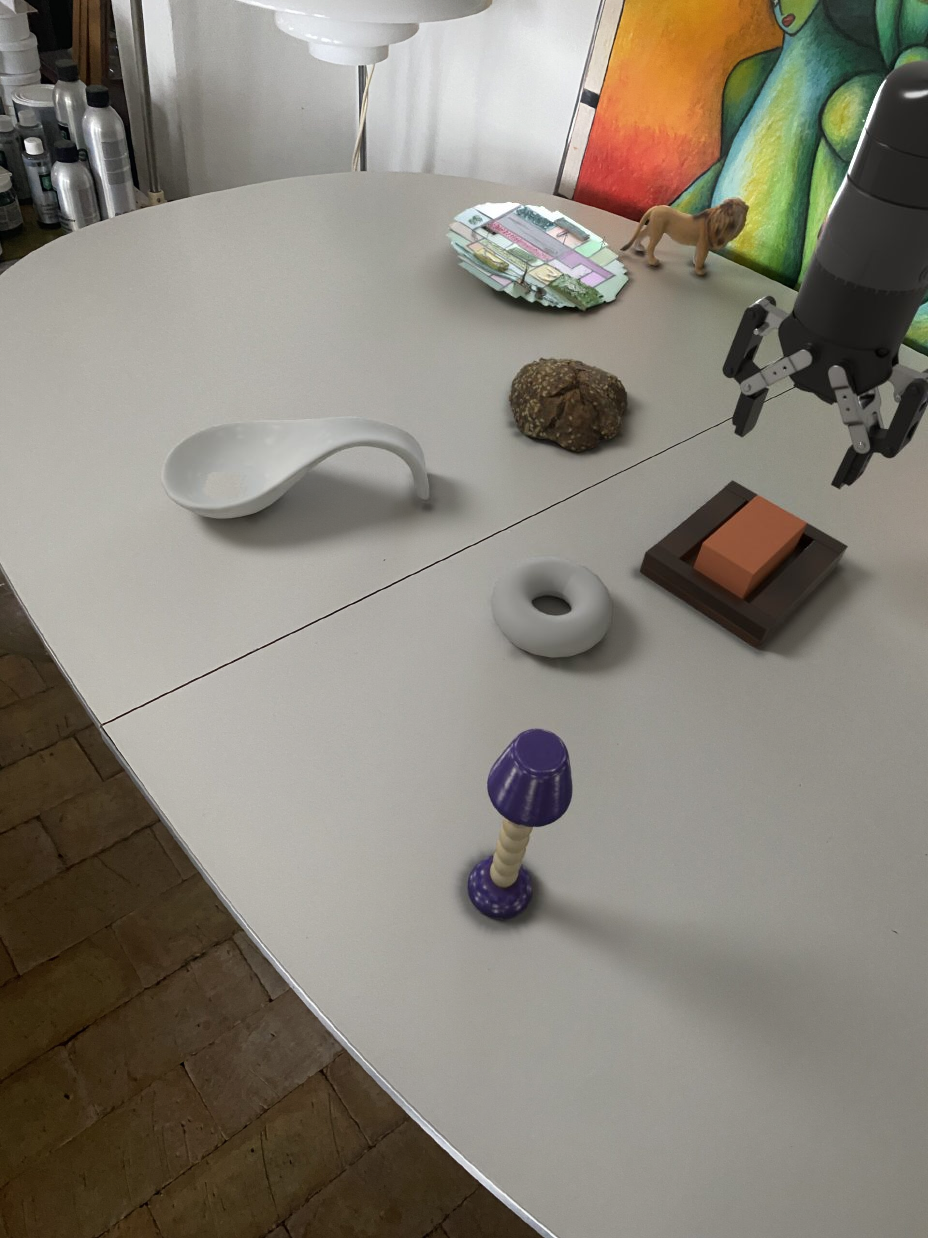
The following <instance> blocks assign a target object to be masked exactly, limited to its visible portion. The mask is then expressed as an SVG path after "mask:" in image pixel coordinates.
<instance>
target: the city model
mask: <svg viewBox="0 0 928 1238" xmlns="http://www.w3.org/2000/svg"><path fill="white" fill-rule="evenodd" d="M452 220H453V221H454V222H451V223H450V224H449V226H450V227H448V228H446V230H447V231H448V233H447V234H445V235H444V237H447V238H448V239H450V240H451V243H450V245H451V246H452V248H453V249H454V250H456V252H455V253H458V254H459V255H457V256H456V258H458V259H459V260H461V261H462V262H459V263H457V265H459V266H460V267H461V268H463V269H464V270H465V271H467V272H469V273H470V274H471V275H473V276H475V277H476V278H477V279H479V280H480V281H482V282H484V283H485V284H486V285H488V286H490V287H491V288H492V289H493V290H495V291H496V292H503V291H504V292H506V294H508V295H510V296H512V297H513V298H514V299H516V298H519V297H520V296H521V297H522V298H523V299H525V300H526V301H528V302H530V303H534V302H535V301H536V302H539V303H540V304H541V305H543V306H545V307H547V306H551V307H554V306H556V307H557V308H563V307H564V306H566V307H568V308H569V307H572V308H574V307H577V308H578V310H580V311H583V312H586V309H588V308H591V307H593V306H597V305H600V304H603V303H604V301H605V303H609V302H612V301H614V300H616V299H617V298H616V295H617V294H618V293H619V292H620V290H622V288H623V287H624V285H625V284H626V283H627V281H629V279H630V278H629V277H628V276H627V275H625V273H627V272H628V270H627V269H625V268H624V267H625V265H624V263H622V262H620V261H619V260H618V257H620V255H619V254H617V253H615V252H614V251H612V250H611V249H609V248H608V247H609V243H607V242H605V241H606V236H603V238H602V237H600V236H599V235H598V234H596V233H594V232H592V231H591V230H589V229H587V228H586V227H584V226H582V225H581V224H579V223H578V222H576V221H574V220H573V219H571V218H570V217H568V216H566V215H565V214H563V213H562V212H560V211H559V210H555V211H550V210H549V209H548V208H546V207H544V206H542V205H541V206H538V205H530V204H526V205H523V204H521V203H519V202H514V203H512V202H510V201H506V202H505V203H501V202H498V203H491V202H489V201H487V202H486V203H483V204H482V203H479V204H477V205H476V206H472V207H471V208H470V207H468V208H466V209H465V210H464V211H462V212H461V213H459V214H458V215H456V216H454V217H453V218H452Z"/></svg>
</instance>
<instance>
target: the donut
mask: <svg viewBox="0 0 928 1238" xmlns="http://www.w3.org/2000/svg"><path fill="white" fill-rule="evenodd" d="M494 583H495V584H494V586H493V590H492V594H491V598H490V607H491V612H492V618H493V621H494V622H495V624H496V626H497V627H498V629H499V630H500V632H501V633H502V635H503V636H504V637H505V638H506V639H507V640H508V641H510V642H511V643H512V644H513V645H514V646H516V647H517V648H519V649H520V650H521V649H522V650H523V651H526V652H528V653H530V654H532V655H535V656H541V657H547V658H551V659H552V658H568V657H574V656H575V655H579V654H582V653H584V652H586V651H589V650H590V649H592V648H593V647H594V646H595V645H596V644H598V643H600V641H602V640H603V638H604V636H605V635H606V633H607V631H608V630H609V628H610V627H611V625H612V619H613V610H614V604H613V602H612V598H611V595H610V594H611V593H610V592H609V589H608V587H607V586H606V584H605V583H604V582H603V580H602V579H601V578H600V576H599V575H598V574H596V573H595V572H594V571H592V570H591V569H589V568H588V567H587V566H586V565H583V564H581V563H579V562H576V561H574V560H572V559H570V558H564V557H560V556H554V555H548V556H533V557H530V558H527V559H523V560H520V561H517V562H516V563H515V564H512V565H511V566H510V567H508V568H507V569H506V570H504V571H503V573H502V574H501V575H500V577H499V578H498V579H497V581H496V582H494ZM543 596H544V597H545V596H550V597H557V598H559V599H562V600H563V601H564V602H566V603H567V604H569V606H570V608H571V610H570V611H569V612H568V613H564V614H561V615H560V614H559V615H552V614H547V613H544V612H542V611H540V610H538V609H537V608H536V607H535V606H534V605H533V600H535V599H536V598H539V597H543Z"/></svg>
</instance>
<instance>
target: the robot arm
mask: <svg viewBox="0 0 928 1238" xmlns="http://www.w3.org/2000/svg"><path fill="white" fill-rule="evenodd" d="M916 1H917V2H919V3H921V4H924V5H926V6H928V0H916ZM849 163H850V164H849V166H848V169H847V171H846V173H845V176H844V178H843V180H842V183H840V186H839V188H838V190H837V192H836V193H835V195H834V197H833V200H832V202H831V204H830V206H829V208H828V211H827V214H826V216H825V218H824V221H822V223H821V225H820V227H819V230H818V232H817V236H816V243H815V246H814V248H813V251H812V254H811V256H810V260H809V262H808V265H807V268H806V270H805V273H804V276H803V278H802V281H801V284H800V287H799V289H798V292H797V295H796V297H795V300H794V303H793V308H792V310H791V312H790V313H788V312H786V311H785V310H783V309H781V308H780V307H777V300H776V298H774V296H772V295H769V294H768V295H765V296H763V297H761V298H760V299H758V300H757V301H755V302H754V303H752V304H751V305H750V306H748V307H746V308H745V310H744V312H743V314H742V317H741V319H740V322H739V324H738V327H737V330H736V331H735V335H734V336H733V340H732V342H731V345H730V347H729V350H728V352H727V355H726V358H725V360H724V363H723V365H722V374H723V375H724V377H726V378H728V379H734V380H735V382H736V383H738V385H739V390H740V394H739V397H738V400H737V403H736V404H735V408H734V411H733V414H732V416H731V417H732V418H731V424H732V425H733V426H735V429H734V430H733V431H734V432H733V434H735V435H736V436H739V437H740V438H744V437H746V436H747V435H748V434H749V433H750V432H752V431H753V430H754V429H755V427H756V425H757V423H758V420H759V417H760V415H761V412H762V409H763V406H764V404H765V401H766V399H767V397H768V393H769V390H770V388H768V387H770V386H772V385H774V384H776V383H777V382H779V381H781V380H783V379H786V378H787V377H789V379H790V380H791V382H793V387H794V388H795V389H798V390H800V391H802V392H806V393H811V394H813V395H815V396H816V397H817V398H818V399H819V400H821V401H822V402H824V403H826V404H827V405H830V406H832V405H833V404H837V405H838V411H839V414H840V417H841V421H842V424H843V425H845V426H847V429H848V432H849V437H850V439H851V445H849V447H848V448H847V449H846V452H845V454H844V456H843V458H842V460H841V462H840V464H839V466H838V468H837V470H836V473H835V475H834V477H833V479H832V481H831V483H830V485H831V486H832V487H833V488H834V487H835V488H836V489H838V490H841V489H842V487H844V486H845V485H846V486H848V487H851V486H852V485H853V484H854V483H856V482H857V480H859V478H861V476H863V474H864V472H865V471H866V469H867V467H868V465H869V463H870V461H871V459H872V457H873V456H874V454H881V456H883V457H884V458H886V459H893V458H895V457H896V456H897V455H898V454H899V453H901V451H902V450H903V449H904V448H905V447H906V446H907V445H908V444H910V442H911V441H912V440H913V437H914V435H915V433H916V431H917V429H918V428H919V425H920V422H921V420H922V418H923V416H924V414H925V412H926V411H927V408H928V368H925V369H924V370H922V371H918V370H916V369H913V368H912V367H911V368H910V367H908V366H906V365H903V364H901V363H900V357H899V356H900V355H899V354H900V353H899V352H900V349H901V345H902V344H903V341H904V340H905V338H906V335H907V333H908V331H909V329H910V328H911V325H912V323H913V321H914V319H915V317H916V315H917V313H918V311H919V309H920V306H921V305H922V303H923V300H924V298H925V296H926V294H927V292H928V59H924V60H923V59H922V60H921V59H920V60H914V61H909V62H905V63H903V64H901V65H899V66H897V67H896V68H894V69H893V70H892V71H890V72H889V74H887V75H886V76H885V78H884V79H883V81H882V82H881V85H879V88H878V90H877V92H876V95H875V97H874V99H873V102H872V105H871V106H870V109H869V112H868V115H867V117H866V120H865V123H864V126H863V128H862V131H861V134H860V137H859V139H858V142H857V144H856V147H855V150H854V153H853V155H852V158H851V161H850V162H849ZM774 330H777V337H778V341H779V344H780V348H781V352H782V355H781V356H779V357H778V358H776V359H775V360H773V361H771V362H769V363H767V364H766V365H764V366H762V367H760V366H759V365H757V363H755V362H754V360H755V358H756V355H757V354H758V351H759V348H760V346H761V344H762V341H763V339H764V337H766V336H768V335H769V334H770V333H771V332H773V331H774ZM887 382H889V383H890V384H891V385H892V386H893V395H892V396H893V401H894V402H895V403H896V404H897V403H898V405H897V407H896V410H895V411H894V414H893V417H892V419H891V421H890V423H889V426H888V427H887V428H885V425H884V422H883V417H882V413H881V407H882V398H881V394H880V390H879V387H880V386H883V385H884V384H886V383H887Z"/></svg>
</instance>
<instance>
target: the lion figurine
mask: <svg viewBox="0 0 928 1238" xmlns="http://www.w3.org/2000/svg"><path fill="white" fill-rule="evenodd" d="M749 209H750V205H747V204H746V201H745V200H743V199H741V198H740V197H736V196H732V197H727V198H724V199H723V200H722V202H721V203H719V204H718V205H714V206H713V207H711V208H706V209H704V210H703V211H701V212H699V213H696V214H689V213H684V212H681V211H679V210H677V209H675V208H674V207H672V206H670V205H666V204H662V205H655V206H652V207H651V208H649V209H648V210H647V211H646V212H645V213H644V214H643V216H642V217H641V219H640V221H639V223H638V225H637V227H636V230H635V231H634V233H633V236H632V238H631V239H630V241H628V243H626V244H624V245H623V246H622V247H621V248H619V251H622V252H626V251H628V250H629V249H630V248H631V247H632V246H633V248H634V250H636V251H638V252H643V251H644V250H645V246H644V245H643V244H642V241H644V240H645V239H647V238H648V237H649V241H648V244H647V246H646V253H647V254H646V255H647V258H648V259H647V260H648V262H649V264H650V265H651V266H658V265H659V263H660V259H658V258H657V257H655V253H654V252H655V249H656V247H657V246H658V244H659V242H660V241H661V240H662V238H663V236H664V234H666V235H667V236H668V237H669V238H670V239H671V240H672V241H673V242H674V243H676V244H678V245H680V246H681V245H682V246H685V247H686V246H688V247H695V251H694V254H693V256H692V262H693V264H694V270H695V271H694V272H695V273H696V275H698V276H704V275H706V269H705V268H703V267H704V263H705V261H706V259H707V257H708V255H709V252H710V251H713V250H718V251H721V250H722V249H724V248H726V246H727V245H728V244H729V243H730V242H732V241H734V240H735V239H737V238H738V237H739V235H740V234H741V233H742V231H743V230H744V229H745V226H746V223H747V216H748V212H749ZM648 220H649V221H648ZM647 221H648V223H647V225H646V226H645V224H646V222H647ZM644 226H645V227H644ZM643 227H644V228H643Z"/></svg>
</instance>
